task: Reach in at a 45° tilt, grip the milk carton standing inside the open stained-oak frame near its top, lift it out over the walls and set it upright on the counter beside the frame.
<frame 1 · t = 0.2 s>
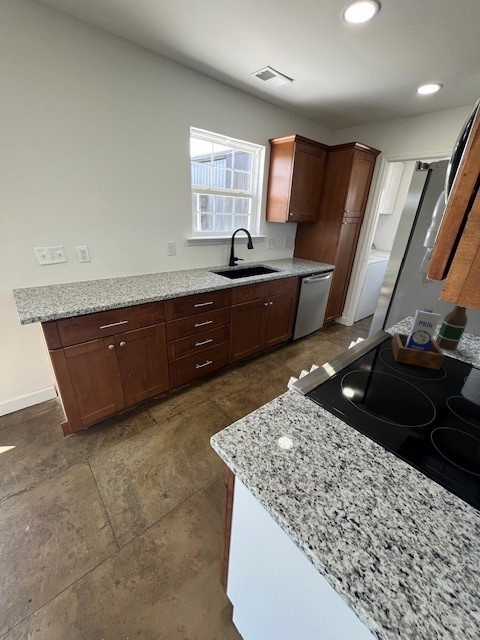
hand: (427, 285, 88), 31 cm above the worktop, tool pointing down, fingers open, 8 cm apart
oak frame: (413, 356, 106), on the worktop
milk carton: (413, 356, 106), resting in oak frame
beer bottle: (445, 346, 115), on the worktop
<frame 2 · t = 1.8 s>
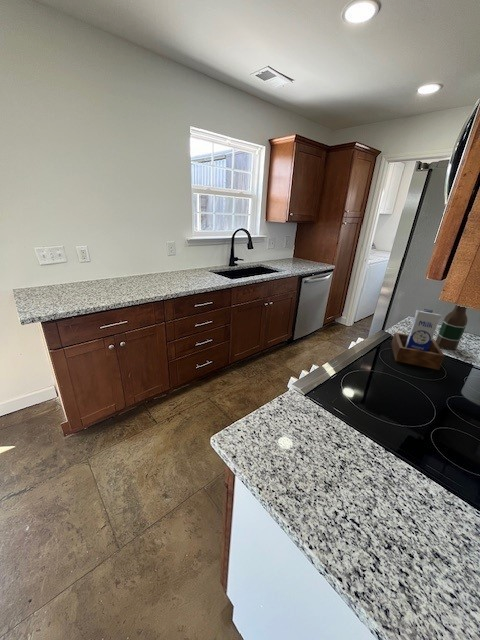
nothing on the worktop moved.
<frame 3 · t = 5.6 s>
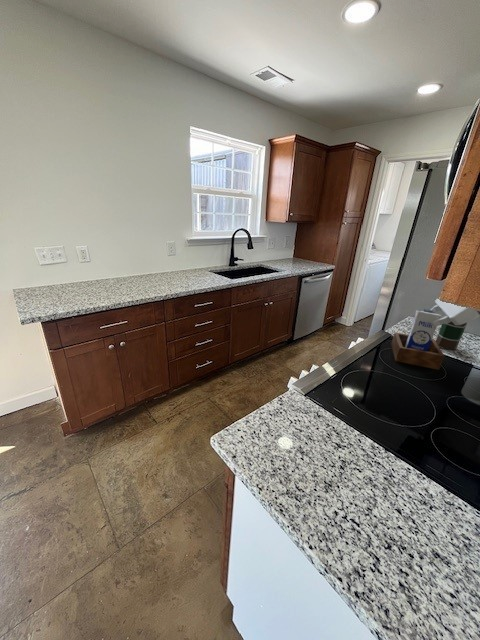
hand: (430, 319, 98), 17 cm above the worktop, tool tilted 45°, fingers open, 8 cm apart
milk carton: (413, 356, 106), resting in oak frame, touching gripper
everything else where it was.
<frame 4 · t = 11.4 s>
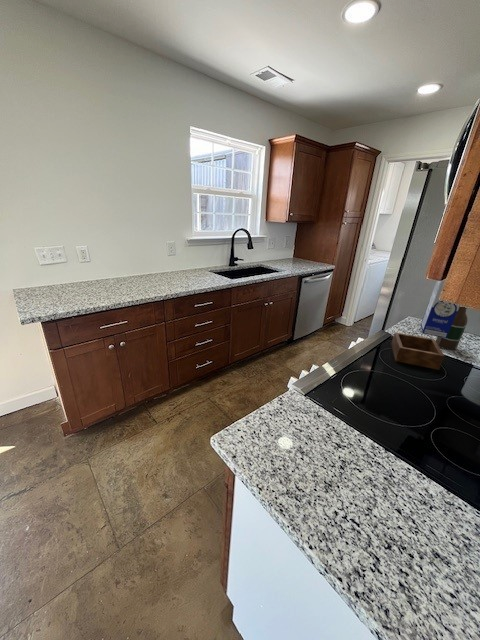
milk carton: (432, 332, 91), point 16 cm above the worktop, touching gripper
everything else where it was.
when the fingers open (15 cm above the worktop, at t = 16.6 s): milk carton stays where it is, on the worktop.
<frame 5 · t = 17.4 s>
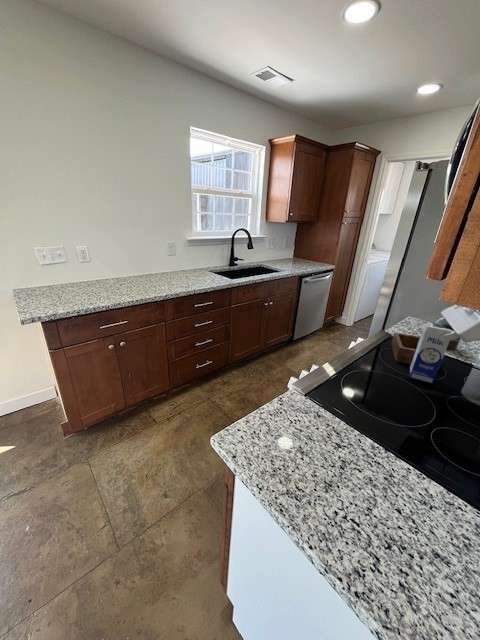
hand: (435, 333, 88), 16 cm above the worktop, tool tilted 45°, fingers open, 8 cm apart
milk carton: (420, 376, 94), on the worktop
everything else where it was.
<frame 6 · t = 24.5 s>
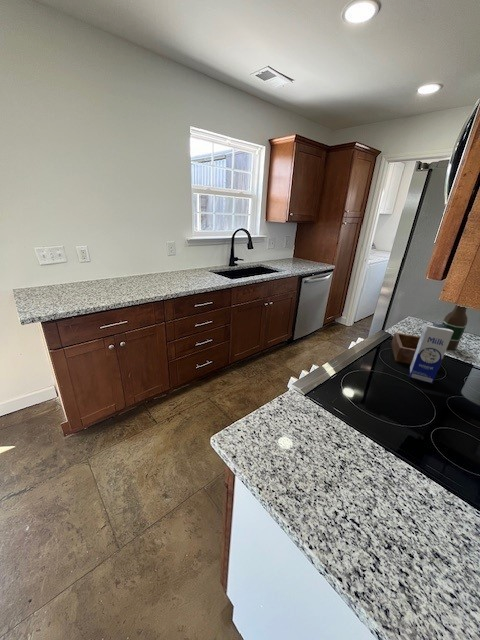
nothing on the worktop moved.
at the end: milk carton inside the target area (0.4 cm from its centre), on the worktop; milk carton tilted 0°; the gripper is holding nothing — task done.
